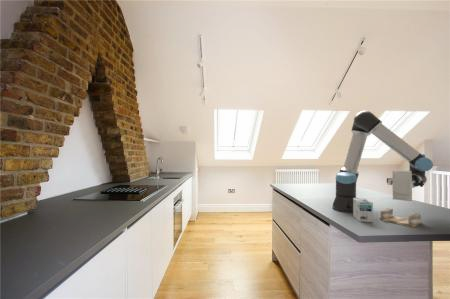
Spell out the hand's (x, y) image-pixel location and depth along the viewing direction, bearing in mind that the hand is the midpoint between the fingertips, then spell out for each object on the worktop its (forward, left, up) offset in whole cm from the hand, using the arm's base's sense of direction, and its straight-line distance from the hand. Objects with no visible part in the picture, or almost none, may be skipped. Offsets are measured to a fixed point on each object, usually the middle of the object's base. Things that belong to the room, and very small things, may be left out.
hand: (399, 183), depth 122 cm
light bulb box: (-14, -10, -21) cm, 27 cm away
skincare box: (0, +5, -9) cm, 10 cm away
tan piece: (0, +3, -21) cm, 21 cm away
